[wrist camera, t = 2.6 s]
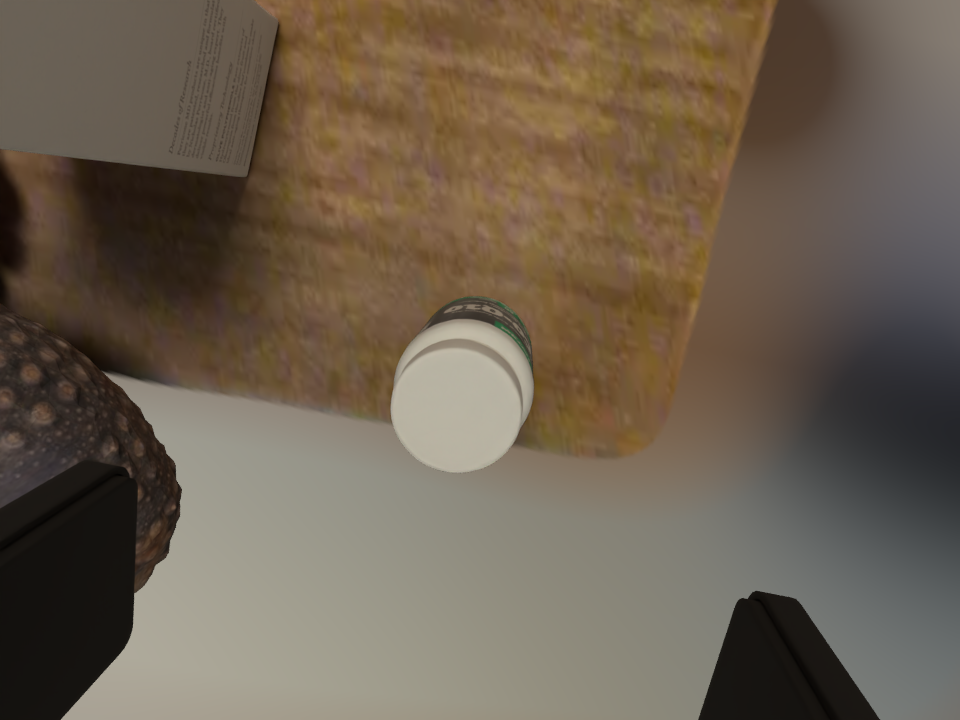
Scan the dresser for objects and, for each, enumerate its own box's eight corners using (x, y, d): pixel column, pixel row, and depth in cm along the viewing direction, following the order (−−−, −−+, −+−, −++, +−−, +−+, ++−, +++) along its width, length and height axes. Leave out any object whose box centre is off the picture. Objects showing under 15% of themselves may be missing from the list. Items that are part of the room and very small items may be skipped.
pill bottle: (552, 332, 26) (568, 391, 18) (493, 421, 27) (482, 515, 19) (457, 271, 26) (429, 305, 18) (400, 364, 27) (349, 436, 19)
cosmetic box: (59, 119, 25) (-621, 0, 10) (81, -59, 24) (-695, -517, 8) (257, 183, 25) (-122, 160, 10) (293, 11, 24) (-99, -316, 9)
